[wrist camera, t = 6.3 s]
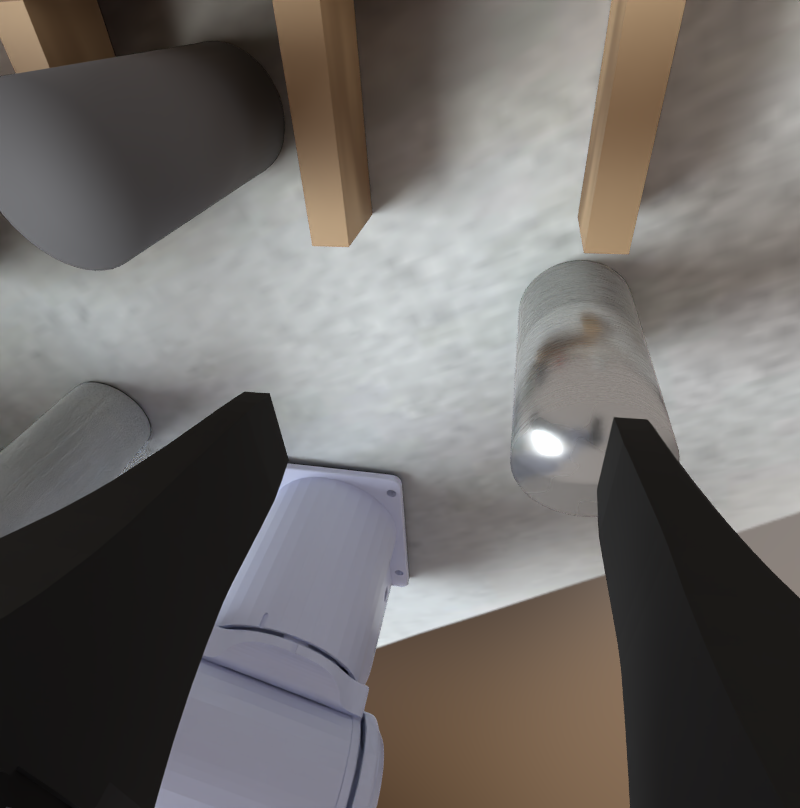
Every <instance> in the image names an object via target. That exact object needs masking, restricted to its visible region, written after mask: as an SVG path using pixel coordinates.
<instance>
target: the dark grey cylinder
mask: <svg viewBox="0 0 800 808" xmlns="http://www.w3.org/2000/svg"><path fill="white" fill-rule="evenodd" d="M284 131H285V122H284V113H283V108H282V104H281V101H280V98H279V95H278V93H277V90H276V88H275V86H274V84H273V82H272V81H271V79H270V77H269V76H268V74H267V73H266V71H265V70H264V69H263V68H262V67H261V65H260V64H259V63H258V62H257V61H256V60H255V59H254V58H252V57H251V56H250V55H249V54H247V53H246V52H245V51H243V50H241V49H239V48H238V47H236V46H233V45H231V44H228V43H224V42H218V41H210V42H202V43H196V44H190V45H184V46H178V47H172V48H166V49H160V50H154V51H149V52H143V53H137V54H131V55H125V56H119V57H113V58H107V59H101V60H95V61H89V62H83V63H77V64H71V65H65V66H59V67H53V68H47V69H41V70H35V71H29V72H23V73H17V74H11V75H5V76H0V211H1V213H2V214H3V215H4V217H5V218H6V219H7V220H8V221H9V222H10V223H11V224H12V225H13V227H14V228H16V229H17V230H18V231H19V232H20V233H21V234H22V235H23V236H24V237H25V238H26V239H28V240H29V241H30V242H31V243H32V244H34V245H35V246H36V247H38V248H39V249H41V250H42V251H44V252H45V253H47V254H48V255H50V256H52V257H54V258H55V259H58V260H60V261H62V262H64V263H66V264H69V265H72V266H74V267H78V268H82V269H87V270H95V271H96V270H109V269H114V268H116V267H119V266H121V265H123V264H124V263H126V262H128V261H129V260H131V259H132V258H134V257H135V256H137V255H138V254H140V253H141V252H143V251H144V250H146V249H147V248H149V247H150V246H152V245H153V244H155V243H156V242H158V241H159V240H161V239H162V238H164V237H165V236H167V235H168V234H170V233H171V232H173V231H174V230H176V229H177V228H179V227H180V226H182V225H183V224H185V223H186V222H188V221H189V220H191V219H192V218H194V217H195V216H197V215H198V214H200V213H201V212H203V211H204V210H206V209H207V208H209V207H210V206H212V205H213V204H215V203H216V202H218V201H219V200H221V199H222V198H224V197H225V196H227V195H228V194H230V193H231V192H233V191H234V190H236V189H237V188H239V187H240V186H242V185H243V184H245V183H246V182H248V181H249V180H251V179H252V178H254V177H255V176H257V175H258V174H260V173H261V172H263V171H264V170H266V169H267V168H268V167H269V166H271V164H272V163H273V162H274V161H275V159H276V158H277V156H278V154H279V152H280V150H281V147H282V143H283V139H284Z"/></svg>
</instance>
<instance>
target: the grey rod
mask: <svg viewBox="0 0 800 808" xmlns="http://www.w3.org/2000/svg"><path fill="white" fill-rule="evenodd" d="M614 417H620V418H635V419H648V420H649V422H650V423H651V424H652V425H653V426H654V428H655V429H656V431H657V432H658V434H659V435H660V436H661V438H662V439H663V441H664V442H665V443H666V445H667V446H668V448H669V449H670V450H671V452H672V453H673V455H674V456H675V457H676V459H677V460H678V461H679V450H678V446H677V443H676V440H675V436H674V433H673V430H672V426H671V423H670V420H669V417H668V413H667V410H666V407H665V403H664V400H663V397H662V393H661V390H660V387H659V383H658V380H657V377H656V374H655V370H654V367H653V364H652V360H651V357H650V354H649V350H648V347H647V344H646V341H645V337H644V334H643V331H642V327H641V324H640V321H639V317H638V314H637V311H636V308H635V304H634V301H633V298H632V294H631V291H630V289H629V287H628V285H627V283H626V282H625V280H624V279H623V278H622V277H621V276H620V275H619V274H618V273H617V272H616V271H614V270H613V269H611V268H609V267H607V266H605V265H603V264H600V263H596V262H592V261H571V262H565V263H562V264H559V265H556V266H553V267H551V268H549V269H548V270H546V271H544V272H543V273H541V274H540V275H539V276H537V277H536V278H535V279H534V280H533V281H532V282H531V283H530V285H529V286H528V287H527V289H526V290H525V292H524V294H523V296H522V299H521V302H520V307H519V318H518V335H517V353H516V370H515V388H514V405H513V423H512V440H511V462H510V464H511V469H512V473H513V476H514V478H515V480H516V482H517V483H518V485H519V486H520V487H521V489H522V490H523V491H524V492H525V493H526V494H527V495H528V496H530V497H531V498H532V499H534V500H535V501H537V502H538V503H540V504H542V505H544V506H546V507H548V508H550V509H553V510H556V511H558V512H562V513H566V514H570V515H577V516H587V517H598V507H597V487H598V482H599V478H600V474H601V469H602V465H603V461H604V457H605V452H606V448H607V444H608V439H609V435H610V431H611V426H612V422H613V418H614Z"/></svg>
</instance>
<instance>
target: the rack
mask: <svg viewBox="0 0 800 808" xmlns="http://www.w3.org/2000/svg"><path fill="white" fill-rule="evenodd" d="M272 2H273V8H274V14H275V20H276V26H277V32H278V38H279V45H280V51H281V57H282V63H283V69H284V75H285V81H286V87H287V93H288V100H289V106H290V112H291V118H292V124H293V130H294V136H295V142H296V149H297V155H298V161H299V167H300V173H301V179H302V185H303V191H304V197H305V204H306V210H307V216H308V222H309V228H310V234H311V240H312V246H332V247H349V246H350V245H351V243H352V242H353V241H354V239H355V238H356V236H357V235H358V234H359V232H360V231H361V229H362V228H363V227H364V225H365V224H366V222H367V221H368V220H369V218H370V217H371V215H372V206H371V195H370V183H369V172H368V160H367V149H366V137H365V126H364V114H363V103H362V91H361V80H360V68H359V57H358V45H357V34H356V22H355V11H354V0H272ZM685 3H686V0H612V1H611V8H610V14H609V20H608V27H607V33H606V40H605V46H604V53H603V59H602V65H601V72H600V78H599V85H598V91H597V97H596V104H595V110H594V117H593V123H592V129H591V136H590V142H589V149H588V155H587V161H586V168H585V174H584V181H583V187H582V193H581V200H580V206H579V213H578V221H579V227H580V233H581V238H582V244H583V250H584V253H600V254H629V251H630V246H631V242H632V237H633V233H634V228H635V224H636V220H637V215H638V211H639V206H640V202H641V198H642V193H643V189H644V184H645V180H646V175H647V171H648V167H649V162H650V158H651V153H652V149H653V145H654V140H655V136H656V131H657V127H658V122H659V118H660V114H661V109H662V105H663V100H664V96H665V91H666V87H667V83H668V78H669V74H670V69H671V65H672V61H673V56H674V52H675V47H676V43H677V38H678V34H679V30H680V25H681V21H682V16H683V12H684V7H685ZM0 38H1V41H2V43H3V45H4V48H5V50H6V52H7V54H8V57H9V59H10V61H11V64H12V66H13V68H14V71H15V73H16V74H17V73H23V72H29V71H35V70H41V69H47V68H53V67H59V66H65V65H71V64H77V63H83V62H89V61H95V60H101V59H107V58H113V57H115V54H114V51H113V48H112V45H111V42H110V39H109V36H108V32H107V29H106V26H105V23H104V20H103V17H102V14H101V11H100V8H99V5H98V2H97V0H0Z"/></svg>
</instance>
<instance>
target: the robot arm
mask: <svg viewBox="0 0 800 808" xmlns="http://www.w3.org/2000/svg"><path fill="white" fill-rule="evenodd" d="M288 461H289V460H288V456H287V453H286V449H285V446H284V442H283V439H282V435H281V432H280V428H279V425H278V421H277V418H276V414H275V411H274V407H273V404H272V400H271V397H270V393H255V392H243V393H242V394H240V395H239V396H237V397H235V398H234V399H232V400H231V401H229V402H228V403H226V404H225V405H224V406H222V407H221V408H219V409H218V410H216V411H215V412H214V413H212V414H211V415H209V416H208V417H206V418H205V419H204V420H202V421H201V422H199V423H198V424H197V425H195V426H194V427H192V428H191V429H189V430H188V431H187V432H185V433H184V434H182V435H181V436H179V437H178V438H177V439H175V440H174V441H172V442H171V443H169V444H168V445H167V446H165V447H164V448H162V449H161V450H159V451H158V452H156V453H154V454H153V455H151V456H150V457H148V458H147V459H145V460H144V461H142V462H141V463H139V464H138V465H136V466H134V467H133V468H131V469H130V470H128V471H127V472H125V473H124V474H122V475H121V476H119V477H117V478H116V479H114V480H112V481H111V482H109V483H107V484H105V485H104V486H102V487H100V488H99V489H97V490H95V491H93V492H91V493H90V494H88V495H86V496H84V497H82V498H80V499H79V500H77V501H75V502H73V503H71V504H70V505H68V506H66V507H64V508H62V509H60V510H58V511H56V512H54V513H52V514H50V515H48V516H45V517H43V518H41V519H39V520H37V521H35V522H33V523H31V524H29V525H27V526H25V527H22V528H20V529H18V530H16V531H14V532H12V533H10V534H8V535H6V536H3V537H1V538H0V808H376V806H377V802H378V797H379V792H380V787H381V781H382V773H383V763H384V747H383V740H382V737H381V734H380V732H379V727H378V723H377V720H376V718H375V717H374V716H373V715H372V714H370V713H367V712H365V711H364V708H365V703H366V699H367V695H368V691H369V688H368V686H366V685H365V683H366V681H367V679H368V677H369V674H370V671H371V667H372V663H373V659H374V655H375V650H376V646H377V642H378V638H379V634H380V630H381V626H382V622H383V617H384V613H385V609H386V605H387V601H388V597H389V593H390V589H391V585H393V586H400V587H404V586H407V585H408V581H409V571H408V557H407V544H406V531H405V518H404V505H403V492H402V482H401V480H400V479H399V478H398V477H397V476H394V475H388V474H379V473H370V472H361V471H353V470H344V469H335V468H326V467H317V466H308V465H299V464H290V463H288ZM391 490H393V491H391ZM597 507H598V527H599V539H600V545H601V551H602V557H603V563H604V568H605V574H606V580H607V585H608V591H609V597H610V602H611V608H612V614H613V619H614V625H615V631H616V636H617V642H618V649H619V656H620V664H621V673H622V687H623V701H624V714H625V728H626V743H627V760H628V776H629V795H630V808H800V598H799V597H798V596H797V595H796V594H795V593H794V592H793V591H792V590H791V589H790V588H789V587H788V586H787V585H785V584H784V583H783V582H782V581H781V580H780V579H779V578H778V577H777V576H776V575H775V574H774V573H773V572H772V571H771V570H770V569H769V568H768V567H767V566H766V565H765V564H764V563H763V562H762V561H761V559H760V558H759V557H758V556H757V555H756V554H755V553H754V552H753V551H752V550H751V549H750V548H749V547H748V545H747V544H746V543H745V542H744V541H743V540H742V539H741V538H740V537H739V535H738V534H737V533H736V532H735V531H734V530H733V529H732V528H731V526H730V525H729V524H728V523H727V522H726V520H725V519H724V518H723V517H722V516H721V515H720V513H719V512H718V511H717V510H716V509H715V507H714V506H713V505H712V504H711V502H710V501H709V500H708V499H707V497H706V496H705V495H704V494H703V493H702V491H701V490H700V489H699V488H698V486H697V485H696V484H695V483H694V481H693V480H692V479H691V477H690V476H689V475H688V473H687V472H686V471H685V469H684V468H683V467H682V465H681V464H680V463H679V461H678V460H677V459H676V457H675V456H674V455H673V453H672V452H671V450H670V449H669V448H668V446H667V445H666V443H665V442H664V441H663V439H662V438H661V436H660V435H659V434H658V432H657V431H656V429H655V428H654V426H653V425H652V424H651V423H650V422H649V420H648V419H635V418H620V417H614V418H613V422H612V426H611V431H610V435H609V439H608V444H607V448H606V452H605V457H604V461H603V465H602V469H601V474H600V478H599V482H598V487H597Z"/></svg>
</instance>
